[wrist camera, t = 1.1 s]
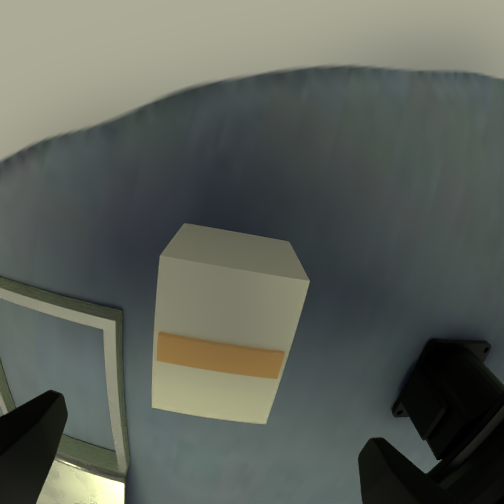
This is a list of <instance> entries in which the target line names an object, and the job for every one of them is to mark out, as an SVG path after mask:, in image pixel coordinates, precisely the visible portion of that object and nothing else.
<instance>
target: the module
mask: <svg viewBox="0 0 504 504" xmlns="http://www.w3.org/2000/svg"><path fill="white" fill-rule="evenodd" d="M309 283H310V280H309V278H308V276H307V274H306V272H305V271H304V269H303V267H302V265H301V263H300V261H299V259H298V257H297V255H296V253H295V252H294V250H293V248H292V246H291V244H290V242H289V241H284V240H278V239H273V238H268V237H262V236H256V235H251V234H245V233H240V232H234V231H228V230H223V229H217V228H211V227H205V226H200V225H194V224H188V223H184V224H183V225H182V227H181V228H180V229H179V231H178V232H177V233H176V235H175V236H174V237H173V239H172V240H171V241H170V243H169V244H168V245H167V247H166V248H165V249H164V251H163V252H162V253H161V255H160V260H159V270H158V281H157V293H156V306H155V322H154V340H153V366H152V407H153V408H158V409H163V410H168V411H173V412H178V413H184V414H190V415H196V416H202V417H208V418H215V419H223V420H231V421H239V422H249V423H259V424H266V421H267V419H268V416H269V413H270V410H271V407H272V404H273V401H274V398H275V395H276V392H277V389H278V386H279V383H280V380H281V377H282V374H283V371H284V367H285V364H286V361H287V358H288V355H289V352H290V348H291V345H292V342H293V338H294V335H295V332H296V328H297V325H298V322H299V318H300V315H301V311H302V308H303V304H304V301H305V297H306V294H307V290H308V287H309Z"/></svg>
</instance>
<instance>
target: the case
mask: <svg viewBox="0 0 504 504" xmlns="http://www.w3.org/2000/svg"><path fill="white" fill-rule="evenodd" d="M0 298H2V299H5V300H7V301H10V302H13V303H16V304H19V305H22V306H25V307H28V308H31V309H34V310H37V311H40V312H43V313H47V314H50V315H53V316H56V317H60V318H63V319H66V320H70V321H73V322H77V323H80V324H84V325H88V326H92V327H95V328H99V329H103V333H104V354H105V369H106V381H107V392H108V401H109V410H110V417H111V425H112V432H113V438H114V445H115V450H116V452H115V451H111V450H108V449H104V448H101V447H98V446H95V445H92V444H88V443H85V442H82V441H80V440H77V439H74V438H71V437H68V436H66V435H63V434H62V437H61V440H60V443H59V446H58V450H57V453H56V456H55V459H54V462H53V464H52V466H51V469H50V471H49V473H48V476H47V478H46V481H45V483H44V485H43V488H42V490H41V493H40V495H39V498H38V500H37V503H36V504H125V482H126V474H127V470H128V467H129V463H130V453H129V444H128V435H127V424H126V412H125V398H124V379H123V338H122V326H123V310H119V309H114V308H110V307H106V306H102V305H98V304H94V303H90V302H86V301H82V300H78V299H74V298H70V297H67V296H63V295H59V294H56V293H52V292H48V291H45V290H41V289H38V288H35V287H31V286H28V285H25V284H21V283H18V282H15V281H12V280H8V279H5V278H2V277H0ZM0 406H1V408H2V411H3V413H4V415H5V414H6V413H8V412H10V411H12V410H14V409H16V408H15V405H14V402H13V399H12V396H11V394H10V391H9V388H8V385H7V381H6V378H5V375H4V372H3V368H2V365H1V361H0Z"/></svg>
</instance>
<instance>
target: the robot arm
mask: <svg viewBox="0 0 504 504" xmlns="http://www.w3.org/2000/svg"><path fill="white" fill-rule="evenodd" d="M433 347H434V348H433ZM490 349H491V345H490V344H489V343H488V342H487V341H462V340H442V339H432V340H431V341H429V342H428V343H427V345H426V347H425V349H424V351H423V353H422V355H421V357H420V359H419V361H418V363H417V365H416V367H415V369H414V371H413V373H412V375H411V377H410V379H409V381H408V382H407V384H406V386H405V388H404V390H403V392H402V393H401V395H400V397H399V399H398V400H397V402H396V404H395V406H394V407H393V409H392V414H393V416H394V417H410V419H411V420H412V422H413V424H414V426H415V428H416V429H417V431H418V433H419V435H420V437H421V439H422V440H426V441H427V443H428V445H429V447H430V448H431V450H432V452H433V454H434V456H435V458H436V459H437V460H441V459H442V460H441V461H440V462H439V463H438V464H437V465H436V466H435V467H434V468H433V469H432V470H430V471H429V472H428V473H426V474H425V473H424V472H422V471H421V470H420V469H419V468H418V467H416V466H415V465H414V464H413V463H412V462H411V461H409V460H408V459H407V458H406V457H405V456H404V455H402V454H401V453H400V452H399V451H398V450H397V449H395V448H394V447H393V446H392V445H391V444H390V443H389V442H387V441H386V440H385V439H384V438H381V437H378V438H371V439H369V440H368V441H367V443H366V444H365V446H364V448H363V449H362V450H361V452H360V454H359V457H358V464H359V474H360V484H361V495H362V502H363V504H504V385H503V384H502V383H501V382H500V381H499V380H498V378H497V377H496V376H495V375H494V374H493V373H492V372H491V371H490V370H489V369H488V368H487V367H486V366H485V365H484V364H483V363H484V361H485V359H486V357H487V355H488V353H489V351H490ZM67 417H68V412H67V408H66V404H65V399H64V396H63V394H61V393H59V392H56V391H54V390H48V391H46V392H45V393H43V394H41V395H39V396H37V397H36V398H34V399H32V400H30V401H28V402H27V403H25V404H23V405H21V406H19V407H17V408H16V409H14V410H12V411H10V412H8V413H6V414H5V415H3V416H1V417H0V504H36V503H37V500H38V498H39V495H40V493H41V490H42V488H43V485H44V483H45V481H46V478H47V476H48V473H49V471H50V469H51V466H52V464H53V462H54V459H55V456H56V453H57V450H58V446H59V443H60V440H61V437H62V433H63V430H64V427H65V424H66V421H67Z"/></svg>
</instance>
